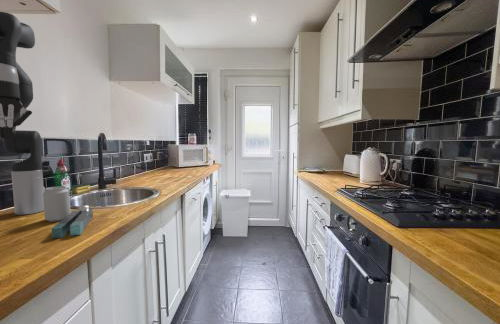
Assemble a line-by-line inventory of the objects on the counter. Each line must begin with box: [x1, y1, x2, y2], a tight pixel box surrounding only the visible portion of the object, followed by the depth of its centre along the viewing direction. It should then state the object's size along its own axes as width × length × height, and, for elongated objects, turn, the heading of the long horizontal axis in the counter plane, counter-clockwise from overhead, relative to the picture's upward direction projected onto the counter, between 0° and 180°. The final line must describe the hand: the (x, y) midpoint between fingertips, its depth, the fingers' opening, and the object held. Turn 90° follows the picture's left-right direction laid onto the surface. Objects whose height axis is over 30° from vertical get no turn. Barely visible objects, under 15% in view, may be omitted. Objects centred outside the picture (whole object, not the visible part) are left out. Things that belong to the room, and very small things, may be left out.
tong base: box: [51, 204, 90, 240], centre depth 82 cm, size 24×4×4 cm, turn 22°
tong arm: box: [69, 208, 94, 237], centre depth 81 cm, size 20×2×3 cm, turn 24°
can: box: [43, 185, 72, 223], centre depth 88 cm, size 8×8×12 cm
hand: (6, 140), depth 72 cm, fingers closed
